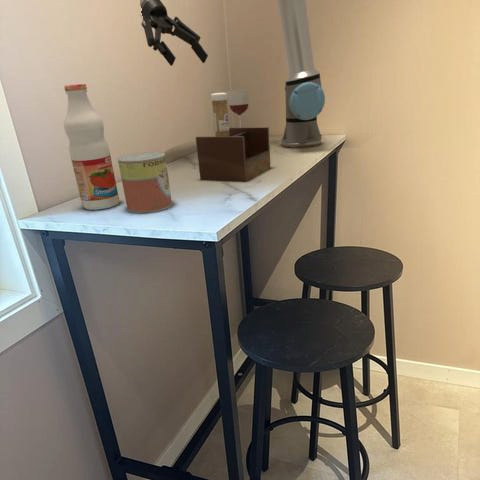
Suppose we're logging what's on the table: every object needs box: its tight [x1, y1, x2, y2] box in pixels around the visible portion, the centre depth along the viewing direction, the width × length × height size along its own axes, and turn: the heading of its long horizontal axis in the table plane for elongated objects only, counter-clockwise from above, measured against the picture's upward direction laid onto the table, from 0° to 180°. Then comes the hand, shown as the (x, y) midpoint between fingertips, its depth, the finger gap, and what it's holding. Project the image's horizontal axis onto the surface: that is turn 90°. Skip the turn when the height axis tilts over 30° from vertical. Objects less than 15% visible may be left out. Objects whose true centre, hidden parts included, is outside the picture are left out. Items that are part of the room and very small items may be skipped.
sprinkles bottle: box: [210, 92, 230, 137], centre depth 135 cm, size 5×5×13 cm
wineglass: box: [226, 88, 250, 128], centre depth 185 cm, size 8×9×20 cm
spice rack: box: [195, 126, 271, 183], centre depth 138 cm, size 18×15×12 cm
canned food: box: [117, 151, 173, 214], centre depth 112 cm, size 11×11×12 cm
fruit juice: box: [63, 83, 120, 211], centre depth 113 cm, size 9×9×28 cm
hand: (189, 60), depth 141 cm, fingers open, 13 cm apart
